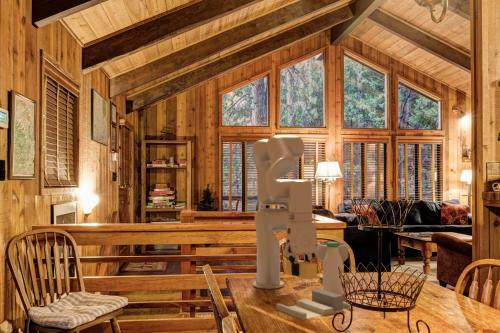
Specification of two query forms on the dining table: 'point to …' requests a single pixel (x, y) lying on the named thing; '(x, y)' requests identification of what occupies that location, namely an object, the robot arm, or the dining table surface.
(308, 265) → the ochre bar
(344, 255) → the chalice
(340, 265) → the milk bottle
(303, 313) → the slot board
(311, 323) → the dining table surface
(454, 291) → the dining table surface
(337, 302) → the slate bar
